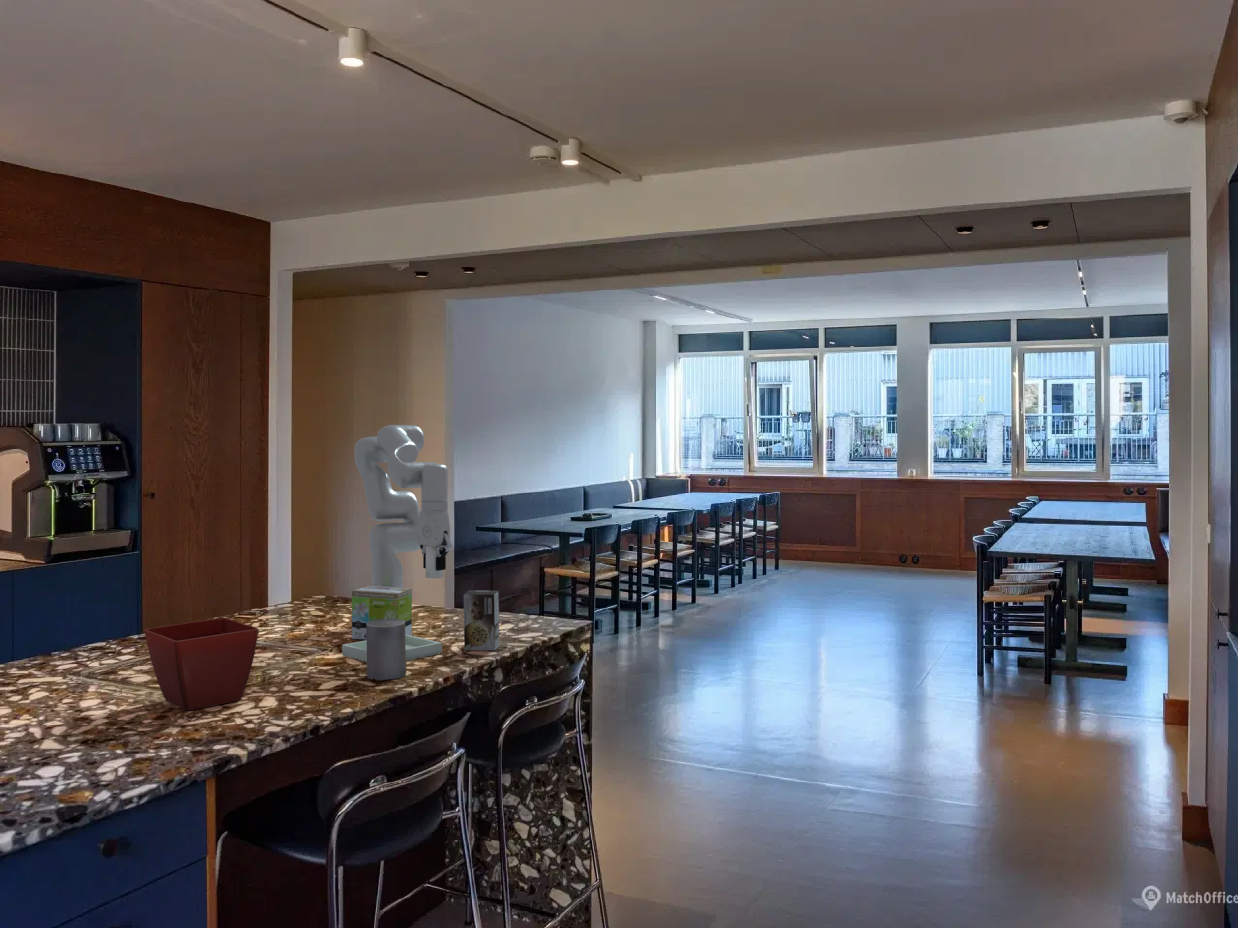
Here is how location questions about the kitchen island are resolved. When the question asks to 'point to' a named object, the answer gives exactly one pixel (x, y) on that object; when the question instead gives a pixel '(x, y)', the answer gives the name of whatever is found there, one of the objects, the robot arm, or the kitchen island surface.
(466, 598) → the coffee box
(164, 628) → the plant pot
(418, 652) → the tray
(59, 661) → the kitchen island surface
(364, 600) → the tea box
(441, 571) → the shaker
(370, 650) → the pillar candle
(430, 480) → the robot arm
